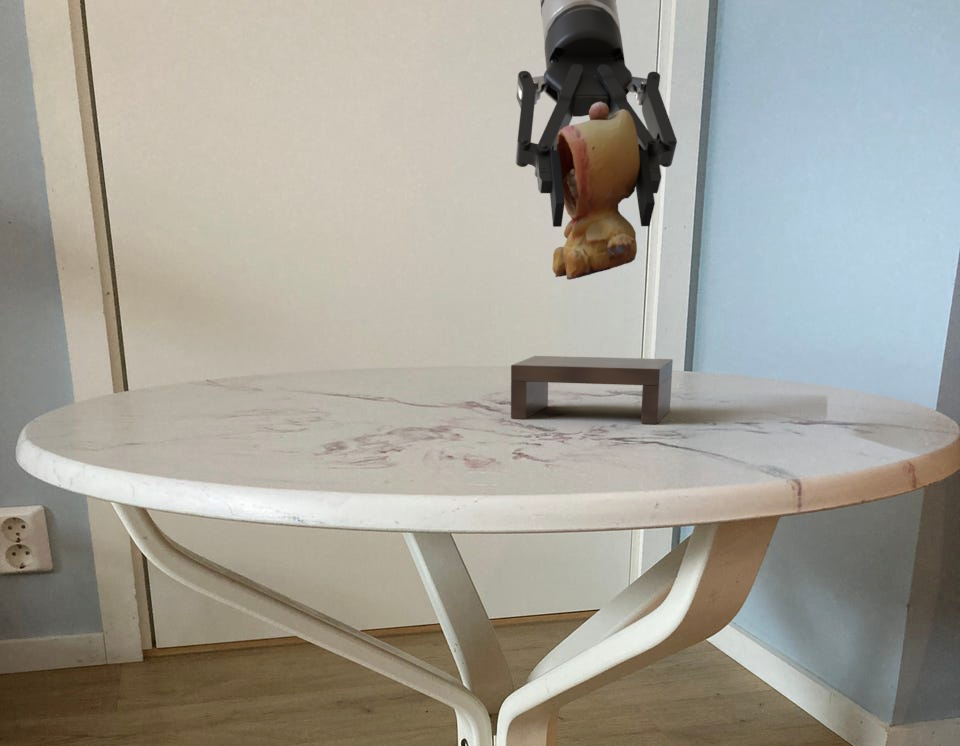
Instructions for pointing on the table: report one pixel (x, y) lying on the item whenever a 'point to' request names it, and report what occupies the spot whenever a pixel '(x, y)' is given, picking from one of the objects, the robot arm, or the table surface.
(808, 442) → the table surface
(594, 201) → the figurine
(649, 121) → the robot arm
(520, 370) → the shelf
